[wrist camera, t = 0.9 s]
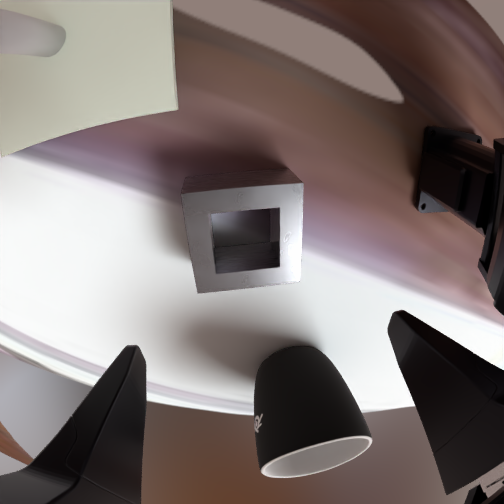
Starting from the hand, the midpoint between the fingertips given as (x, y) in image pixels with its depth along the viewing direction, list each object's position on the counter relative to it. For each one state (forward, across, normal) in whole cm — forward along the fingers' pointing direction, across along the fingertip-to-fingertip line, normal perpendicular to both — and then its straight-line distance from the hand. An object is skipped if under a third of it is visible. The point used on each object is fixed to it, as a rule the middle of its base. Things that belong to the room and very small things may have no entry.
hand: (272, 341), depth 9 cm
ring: (+10, 0, 0) cm, 10 cm away
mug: (+10, -4, +17) cm, 20 cm away
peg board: (+10, +9, -13) cm, 19 cm away
